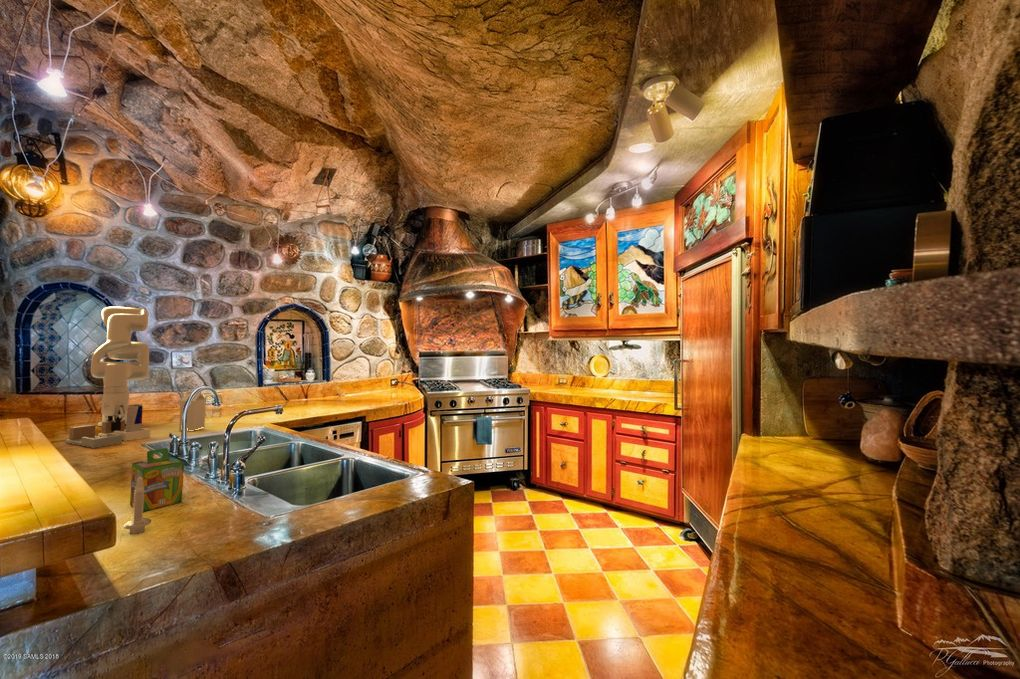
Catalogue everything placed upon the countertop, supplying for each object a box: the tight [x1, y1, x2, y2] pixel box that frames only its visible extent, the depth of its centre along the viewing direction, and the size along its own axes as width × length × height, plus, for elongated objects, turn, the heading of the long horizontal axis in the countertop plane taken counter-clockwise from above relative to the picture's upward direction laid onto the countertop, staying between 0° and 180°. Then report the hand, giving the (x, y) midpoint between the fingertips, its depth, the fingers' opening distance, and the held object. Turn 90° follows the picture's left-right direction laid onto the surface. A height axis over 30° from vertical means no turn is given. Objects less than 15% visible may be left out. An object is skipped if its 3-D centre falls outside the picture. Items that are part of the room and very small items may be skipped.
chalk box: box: [129, 447, 185, 512], centre depth 113 cm, size 9×9×15 cm
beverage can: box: [125, 403, 144, 432], centre depth 182 cm, size 5×5×15 cm
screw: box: [123, 477, 152, 535], centre depth 96 cm, size 13×5×5 cm
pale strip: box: [97, 420, 152, 442], centre depth 184 cm, size 20×9×6 cm, turn 70°
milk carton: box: [178, 390, 207, 432], centre depth 202 cm, size 7×7×19 cm
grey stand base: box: [65, 424, 123, 449], centre depth 172 cm, size 20×9×6 cm, turn 70°
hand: (113, 429), depth 187 cm, fingers closed on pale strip, 3 cm apart
